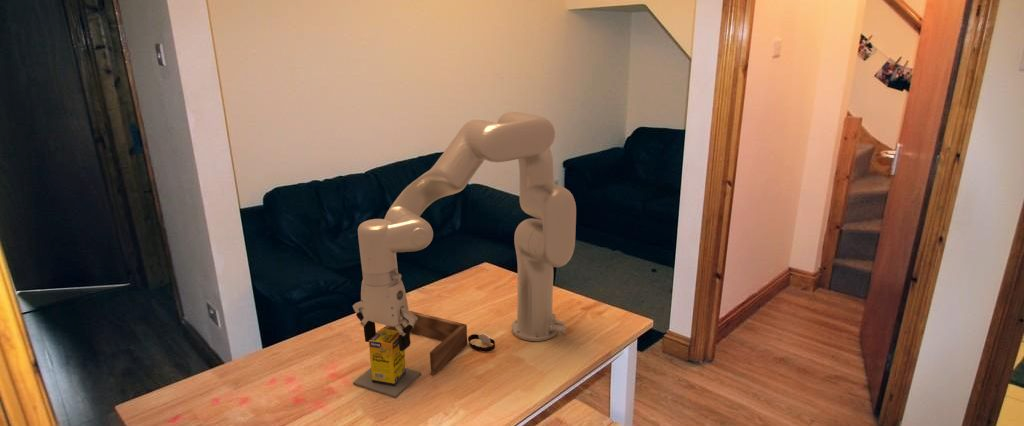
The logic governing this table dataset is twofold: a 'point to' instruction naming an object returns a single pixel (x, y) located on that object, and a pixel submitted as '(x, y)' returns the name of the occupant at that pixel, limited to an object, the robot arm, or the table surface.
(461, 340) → the open box
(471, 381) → the table surface
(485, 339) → the watch
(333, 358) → the table surface
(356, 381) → the mat
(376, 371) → the supplement box
